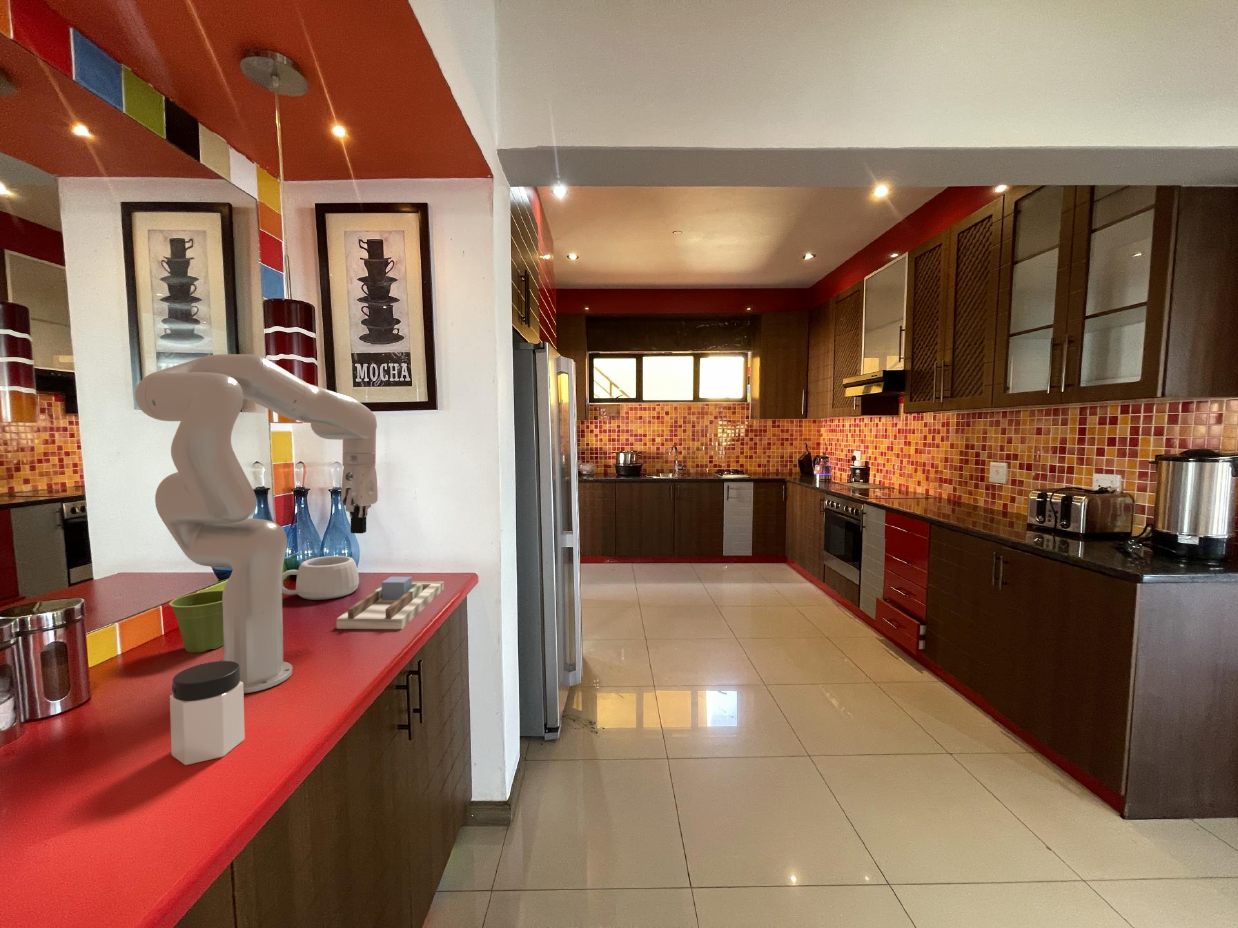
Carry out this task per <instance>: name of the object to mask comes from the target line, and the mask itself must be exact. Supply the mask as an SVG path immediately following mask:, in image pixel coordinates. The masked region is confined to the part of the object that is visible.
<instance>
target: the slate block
mask: <svg viewBox="0 0 1238 928" xmlns="http://www.w3.org/2000/svg"><path fill="white" fill-rule="evenodd" d="M412 581H413V576H389V577H388V578H386V579H385V580H383V581H382V582H381V586H382V600H398V599H399V598H400V597H402V596H403V595H404V594H405V593H407V592H408V591H409V590H411V589H412Z"/></svg>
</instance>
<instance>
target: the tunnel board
mask: <svg viewBox="0 0 1238 928" xmlns="http://www.w3.org/2000/svg"><path fill="white" fill-rule="evenodd" d="M444 587H445V581H426V580H425V581H424V580H421V581H419V580H415V581H413V580H412V589H411V590H409V591H408V592H407V593H405V594H404V595H403V596H402V597H400V598H399V599H398V600H382V585H381V586H380V587H378V588H377V589H374V591H372V592H371V593H369V594H368V595H366V596H365V597H363V598H361V599H360V600H359V601H358V602H356V603H355V604H353V605H351V606H350V607H349V608H347V611H346V612H344V613H343V614H341V615H340V616H338V617H337V618H336V629H339V630H342V629H343V630H347V629H348V630H349V629H350V630H352V629H353V630H354V629H355V630H356V629H357V630H364V629H365V630H403V629H404V628H405V627H406V626H407V625H408V624H409V623H410V622H411V621H412V620H413V619H414V618H415V617H416V616H417V615H419V614H420V613H421V612H422V611H423V610H424V609H425V608H426V607H427V606H428V605H429V604H430V603H431V602H432V601H434V599H436V597H438V596H439V595H440V594H441V592H443V591H444V590H445V589H444Z"/></svg>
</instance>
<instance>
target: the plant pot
mask: <svg viewBox="0 0 1238 928" xmlns="http://www.w3.org/2000/svg"><path fill="white" fill-rule="evenodd" d="M223 590H224V589H216V590H204V591H199V592H194V593H189V594H186V595H182V596H178V597H177V598H176V597H175V598H174V599H172V600H170V602H169V603H168V606H170V607H171V608H172V610H173V614H174V616H175V617H176V620H177V624H178V628H179V631H180V635H181V640H182V644H183V646H184V650H185V651H186V652H187V653H191V654H192V653H193V654H194V653H203V652H207V651H208V650H215V649H219V648H221V647H222V646H224V638H223V606H222V595H223Z"/></svg>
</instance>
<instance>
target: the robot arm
mask: <svg viewBox="0 0 1238 928" xmlns="http://www.w3.org/2000/svg"><path fill="white" fill-rule="evenodd" d="M134 392H135V393H134V397H135V402H136V404H137V406H138V408H139V410H141V412H142V413H143V414H145V415H146V416H148V417H150V418H152V419H154V420H158V421H164V422H179V425H178V427H177V429H176V431H175V434H174V436H173V438H172V441H171V442H172V443H171V447H170V455H171V459H172V462H173V465H174V466H175V468H176V472H174V473H171V474H169V475H167V476H166V477H165V478H163V479H162V480H161V482H160V483H159V484H158V486H157V488H156V490H155V495H154V502H155V508H156V511H157V514H158V516H159V517H160V519H161V520H162V522H163V523H164V525H165V527H166V528H167V530H168V532H169V533H170V535H171V537H172V538H173V539H174V541H175V542H176V544H177V545H178V546H179V548H180V549H181V551H182V553H183V554H184V555H185V556H186V558H187V559H189V560H190V561H191V562H192V563H194V564H196V565H200V566H204V567H213V568H227V569H232V571H231V574H230V575H229V576H228V577H229V578H228V579H227V581H226V583H225V584H224V585H225V586H224V587H223V589H222V590H223V595H222V606H223V638H224V645H223V659H220V660H219V661H232V662H236V663H238V664H239V666H240V681H241V682H243V693H244V694H249V693H255V692H259V691H260V692H261V691H263V690H268V689H269V688H273V687H274V686H278V685H279V684H281V683H283V682H285V681H287V680H288V679H289V678H290V677H291V676H292V674H293V669H294V668H293V665H292V664H291V663H289V662H287V661H284V635H283V634H284V633H283V632H284V628H283V625H284V624H283V623H284V622H283V593H282V574H283V569H284V562H285V557H286V552H287V548H288V547H287V546H288V537H287V533H286V531H285V529H284V528H283V527H282V526H281V525H279V524H278V523H277V522H274V521H271V520H268V519H263V518H262V519H261V518H251V516H252V515H254V513H255V511H256V509H257V501H258V500H257V496H256V493H255V490H254V488H253V487H252V484H251V482H250V481H249V479H248V477H247V474H246V473H245V471H244V469H243V467H242V465H241V464H240V462H239V460H238V457H237V455H236V454H235V453H236V452H235V451H234V449H233V445H232V433H233V428H234V426H235V423H236V421H237V419H238V417H239V415H240V413H241V411H242V409H243V406H244V400H248V401H249V402H250V401H251V402H252V403H254V404H257V405H258V406H261V407H263V408H265V409H267V410H269V411H272V412H274V413H276V414H277V415H279V416H282V417H283V418H286V419H289V420H295V421H298V422H304V423H310V428H311V430H312V432H313V433H314V434H315V435H316V436H317V437H319V438H323V439H325V440H337V441H338V440H342V465H341V466H342V467H343V468H342V477H341V489H340V490H341V491H340V492H341V493H340V495H341V498H340V499H341V500H340V501H341V505H343V506H345V512H348V513H349V518H350V534H364V533H367V517H368V513H369V512H368V511H369V508H371V507H372V505H374V504H377V502H378V501H379V500H378V497H379V495H378V493H379V492H378V477H377V470H376V464H377V463H376V461H377V460H376V458H377V457H376V455H377V454H376V450H377V445H376V444H377V427H378V426H377V425H378V422H377V417H376V415H375V414H374V413H373V412H372V411H371V409H369V408H368V407H367V406H366V405H364V404H362V403H361V402H360V401H358V400H357V399H354V398H352V397H350V396H348V395H345V394H342V393H338V392H335V391H333V390H329V389H326V388H323V387H321V386H317V385H314V384H310V383H307V382H306V381H304V380H303V379H302V378H299V377H297V376H296V375H294V374H292V373H290V372H289V371H287V370H286V369H284V368H282V367H281V366H279V365H277V364H276V363H274V361H271V360H269V359H268V358H265V357H263V356H261V355H257V354H253V353H251V354H250V353H249V354H248V353H242V354H241V353H240V354H239V353H238V354H237V353H236V354H235V353H233V354H232V353H228V354H227V353H225V354H222V353H221V354H211V355H206V356H201V357H199V358H198V357H197V358H196V359H195V358H194V359H192V360H190V361H186V362H183V363H180V364H176V365H173V366H170V367H167V368H164V369H161V370H157V371H155V372H152V373H149V374H148V375H145V376H144V378H142V379H141V380H140V381H139V383H138V384H137V386H136V388H135V391H134Z"/></svg>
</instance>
